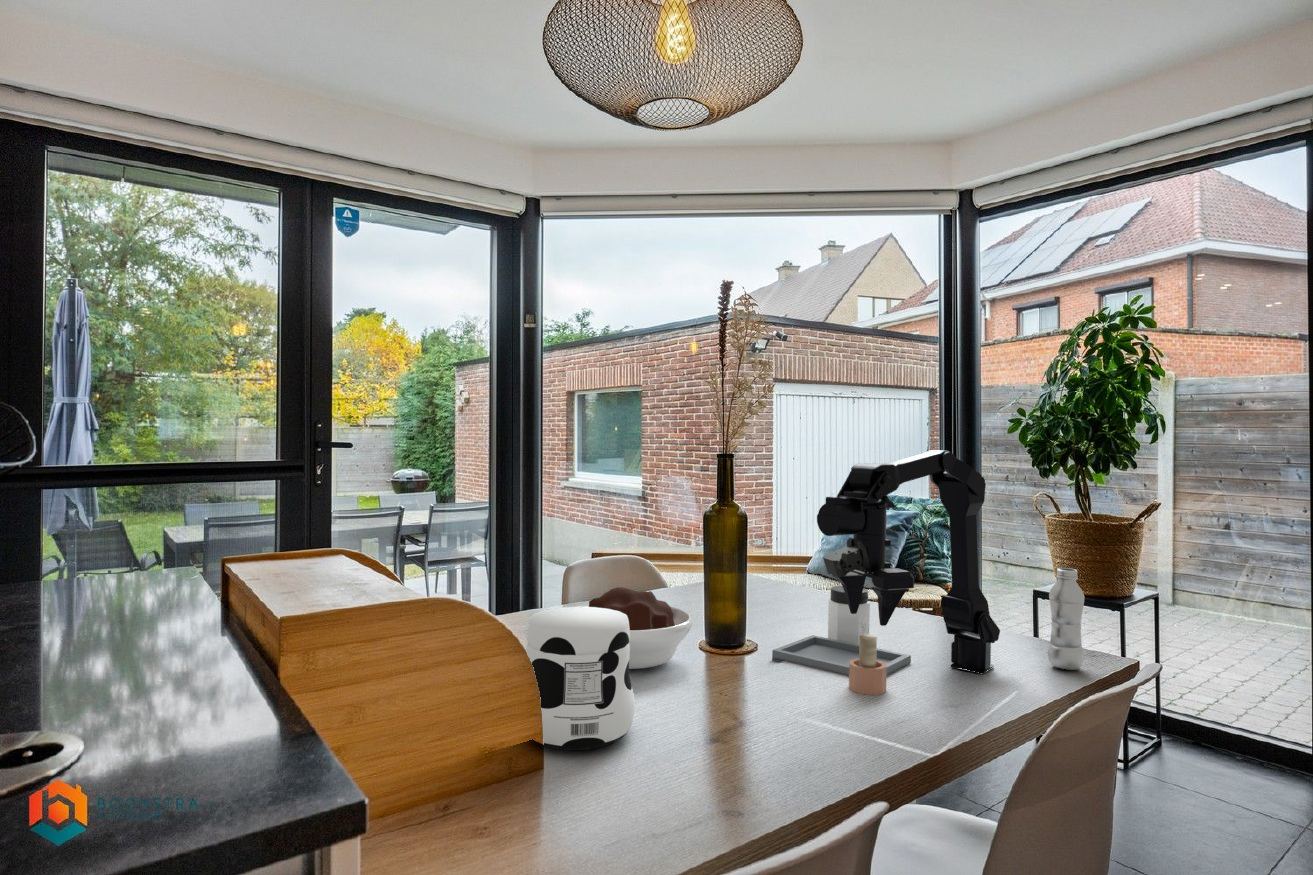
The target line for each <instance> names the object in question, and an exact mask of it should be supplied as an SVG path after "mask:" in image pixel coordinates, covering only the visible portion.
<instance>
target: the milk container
mask: <svg viewBox="0 0 1313 875" xmlns="http://www.w3.org/2000/svg"><path fill="white" fill-rule="evenodd" d="M527 626H528V627H527V633H526V634H527V635H526V640H527V641H526V642H527V643H526V646H525V647H526V648H525V650H526V652H527V654H528V657H529V658H530V661H531V662H532V665H533V667H534V671H535V675H536V679H537V682H538V687H539V691H540V697H541V710H542V721H543V739H544V747H547V748H551V749H557V750H565V751H566V750H567V751H568V750H570V751H582V750H590V749H598V748H601V747H605V746H609V745H612V744H614V743H615V742H617V741H620V740H621V739H622V738H623V737H625V736H626V735H627V734H628V732H629V731H630V729H631V727H632V725H633V722H634V721H633V720H634V715H635V708H636V706H635V704H636V703H635V694H634V690H633V686H632V682H631V676H630V669H629V655H630V644H629V641H630V628H629V620H628V617H627V615H626V614H624V613H622V612H620V611H616V610H611V609H606V608H597V607H585V606H566V607H564V606H563V607H555V608H550V609H545V610H541V611H538V612H535V613H533V614H531V615H530V616H529V619H528V624H527ZM526 652H525V653H526Z"/></svg>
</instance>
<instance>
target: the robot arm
mask: <svg viewBox="0 0 1313 875" xmlns="http://www.w3.org/2000/svg"><path fill="white" fill-rule="evenodd" d="M927 476H929V480H930V482H932V483H933V485H934V486H936V488H937V489H938V494H939V499H940V502H941V504H942V506H943V507H944V509H945V510H946V512H947V514H948V517H949V518H948V519H949V541H950V542H949V544H950V546H949V547H950V567H951V568H950V571H951V574H950V575H951V587H950V589H949V590H948V592H947V593H946V595H942V596H941V599H940V601H941V613H940V615H941V616H942V617H943V621H944V624H945V629H946V633H947V634H949V635H953V641H952V642H951V644H950V645H951V648H950V650H951V651H950V653H951V654H950V661H951V664H950V666H951V667H954V668H953V669H956V668H962V669H967V670H970V671H975V672H979V673H978V674H980V673H984V674H986V673H987V672H988V671H987V670H989V669H990V668H992V667H993V668H994V664H991V658H992V657H991V655H992V649H991V648H992V646H991V645H992V644H993V643H994V644H995V642H997V641H999V637H1000V633H1001V629H1000V628H999V626H998V625H997V624H996V622H995V620H994V619H993V618H992V616H991V615H990V609H989V602H988V600H987V598H986V597H985V595H984V593H983V591H982V589H981V588H980V586H979V585H980V584H979V560H978V558H979V557H978V556H979V554H978V530H977V529H978V527H977V526H978V524H977V514H978V513H979V511H980V510H981V508H982V506H983V505H984V503H985V499H986V498H985V496H986V480H985V477H984V476H982V474H981V473H980V472H979V471H977V470H976V469H975V468H974V467H972V466H971V465H969V464H967V463H966V462H964V461H962V460H961V459H959V458H958V457H956V456H955V454H953V453H952V452H950V451H949V450H938V449H937V450H935V449H933V450H932V449H930V450H927V451H925V452H923V453H920V454H916V455H913V456H912V455H911V456H908V457H905V458H900V459H898V460H893V461H891V462H884V463H883V462H881V463H880V462H879V463H878V462H877V463H876V462H873V463H872V462H871V463H870V462H868V463H867V462H864V463H856V464H854V465H852V466H851V469H850V471H849V474H848V476H847V477H846V479H845V481H844V483H843V485H842V486H841V487H840V490H839V492H838V493H837V495H836V496H826V497H825V503H824V504H822V506H821V507H820V508H819V510H818V513H817V515H816V524H817V527H818V529H819V531H820V532H821V533H822V534H823V535H824V536H827V537H832V536H835V537H836V536H847V535H848V536H849V535H852V536H853V537H850V536H849V537H848V539H847V540H846V546H845V547H842V548H839V549H837V550H834V551H832V552H829V553H827V554H825V555H823V556H822V559H823V562H824V565H825V568H826V573H827V574H828V575H832V577H833V578H835V579H836V580H837V581H838V582H839V583H840V584H841V586H843V589H844V592H845V595H846V599H847V602H848V606H849V609H850V613H851V614H856V613H857V611H858V608H859V604H860V600H861V596H862V592H863V588H864V589H865V582H866V579H867V578H869V579H870V578H871V582H872V584H873V586H871V589H872V591H873V592H874V593H875V594H876V596H877V606H878V609H877V610H878V621H879V625H880V626H881V627H883V626H884V627H885V626H887V624H888V623H889V621H890V619H891V618H892V615H893V614H894V612H895V610H896V609H897V606H898V604H900V601H901V600H902V598H903V597H904V595H905V594H906V593H908V592H910V589H914V588H915V576H914V574H912V572H911V571H910V570H909V571H908V570H905V569H902V568H897V567H896V568H891V562H887V561H886V560H887V559H886V555H887V554H886V552H887V550H886V549H887V547H890V546H892V540H891V539H887V509H893V508H895V507H896V504H895V503H894V502H893V500H891V499H890V498H889V497H888V496H889V495H890V494H892V493H893V492H896V491H897V490H898V488H899V487H900V485H902V484H904V483H907V482H911V481H914V480H917V479H921V478H925V477H927ZM951 667H950V668H951ZM993 668H992V669H993ZM990 670H991V669H990ZM990 670H989V671H990ZM970 671H969V672H970ZM986 671H987V672H986ZM975 672H974V673H975ZM985 672H986V673H985Z"/></svg>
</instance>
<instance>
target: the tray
mask: <svg viewBox="0 0 1313 875" xmlns="http://www.w3.org/2000/svg"><path fill="white" fill-rule="evenodd" d="M771 652H772V656H771V657H772V658H771V660H773V661H775V660H776V661H777V662H779V661H784V662H789V663H794V664H798V665H803V666H807V667H809V668H810V667H811V668H814V669H819V670H824V671H827V672H828V671H829V672H832V673H836V674H839V675H845V676H848V677H849V661H851V660H853V659H859V645H858V644H853V643H848V642H843V641H839V640H834V639H829V638H828V637H823V636H817V635H814V634H811V635H809V636H807V637H803V638H801V639H798V640H795V641H793V642H791V643H790V642H789V643H788V644H785V645H783V646H779V647H777V648H773V649H772V651H771ZM911 658H912V656H911V654H906V653H902V652H901V653H900V652H897V651H892V650H887V649H882V648H877V655H876V660H877V661H881V662H883V663H885V664H886V666H887V672H886V677H887V676H888V675H891V674H892V673H895V672H896V671H898V670H900V669H902V668H904V667H906V666H908V665H909V663H911V662H912V659H911ZM907 664H908V665H907Z"/></svg>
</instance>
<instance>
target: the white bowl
mask: <svg viewBox="0 0 1313 875" xmlns="http://www.w3.org/2000/svg"><path fill="white" fill-rule="evenodd" d="M654 594H655V593H653V592H652V591H651V590H650V591H645V590H644V591H642V590H641V591H637V590H633V589H630V588H627V587H623V586H622V587H621V586H620V587H618V586H617V587H613V588H611V589H609V590H608V591H606V592H604V593H603V594H602V595H601V596H599V597H595V598H593V599H591V600H589V602H588V605H587V606H584V607H597V608H606V609H611V610H616V611H620V612H622V613H624V614H626V615H627V617H628V620H629V628H630V641H629V644H630V655H629V670H635V669H636V670H637V669H639V670H640V669H648V668H653V667H657V666H660V665H664V664H665V663H668V662H669V661H670V660H671V659H672V658H673V657H674V655H675V653H676V651H677V650H678V649H677V648H678V646H679V644H680V643H681V642H682V641H683V640H684V639H685V638H686V637H687V635H688V633H690V630H691V628H692V627H693V626H692V625H693V618H692V616H691V615H690V613H689V612H687V611H685V610H683V609H681V608H678V607H676V606H672V605H670V604H668V603H667V601H664V600H659V599H657V597H656V595H654Z"/></svg>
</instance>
